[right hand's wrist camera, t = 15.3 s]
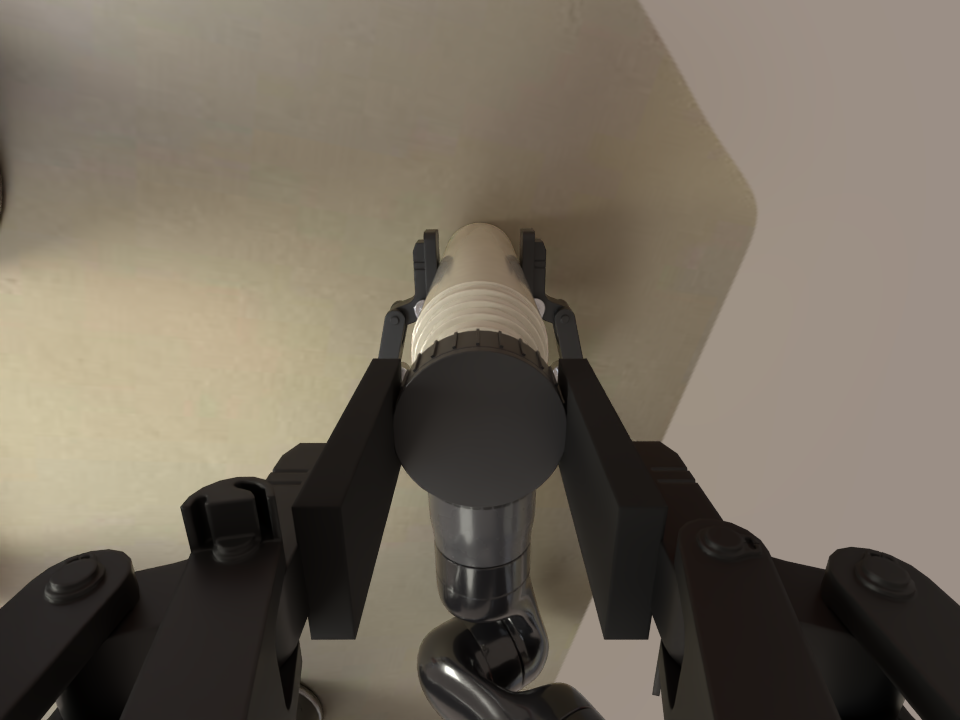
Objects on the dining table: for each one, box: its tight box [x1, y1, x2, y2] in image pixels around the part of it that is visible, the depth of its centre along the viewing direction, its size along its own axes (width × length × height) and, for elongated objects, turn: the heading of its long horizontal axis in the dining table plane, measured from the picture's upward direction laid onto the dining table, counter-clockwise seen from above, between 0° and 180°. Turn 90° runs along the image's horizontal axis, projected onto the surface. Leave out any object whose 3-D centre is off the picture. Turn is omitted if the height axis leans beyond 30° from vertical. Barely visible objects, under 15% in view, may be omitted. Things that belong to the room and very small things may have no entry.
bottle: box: [411, 223, 548, 365], centre depth 25 cm, size 5×5×26 cm
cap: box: [393, 329, 567, 507], centre depth 14 cm, size 4×4×2 cm
